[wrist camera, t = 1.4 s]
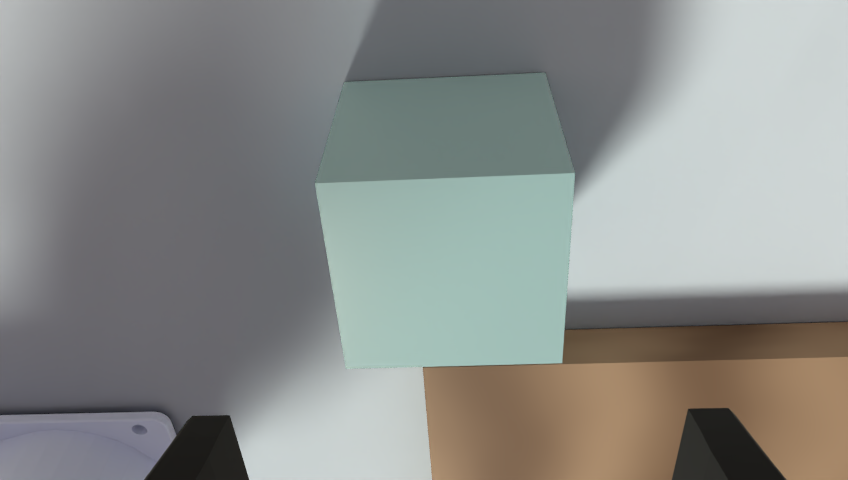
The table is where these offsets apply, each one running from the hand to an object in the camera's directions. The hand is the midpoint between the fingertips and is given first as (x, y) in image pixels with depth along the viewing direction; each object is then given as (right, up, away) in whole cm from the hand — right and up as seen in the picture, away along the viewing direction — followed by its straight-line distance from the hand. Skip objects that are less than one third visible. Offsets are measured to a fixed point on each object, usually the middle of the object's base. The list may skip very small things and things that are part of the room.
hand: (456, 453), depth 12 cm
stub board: (+8, -5, +15) cm, 18 cm away
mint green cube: (0, +5, +8) cm, 10 cm away
